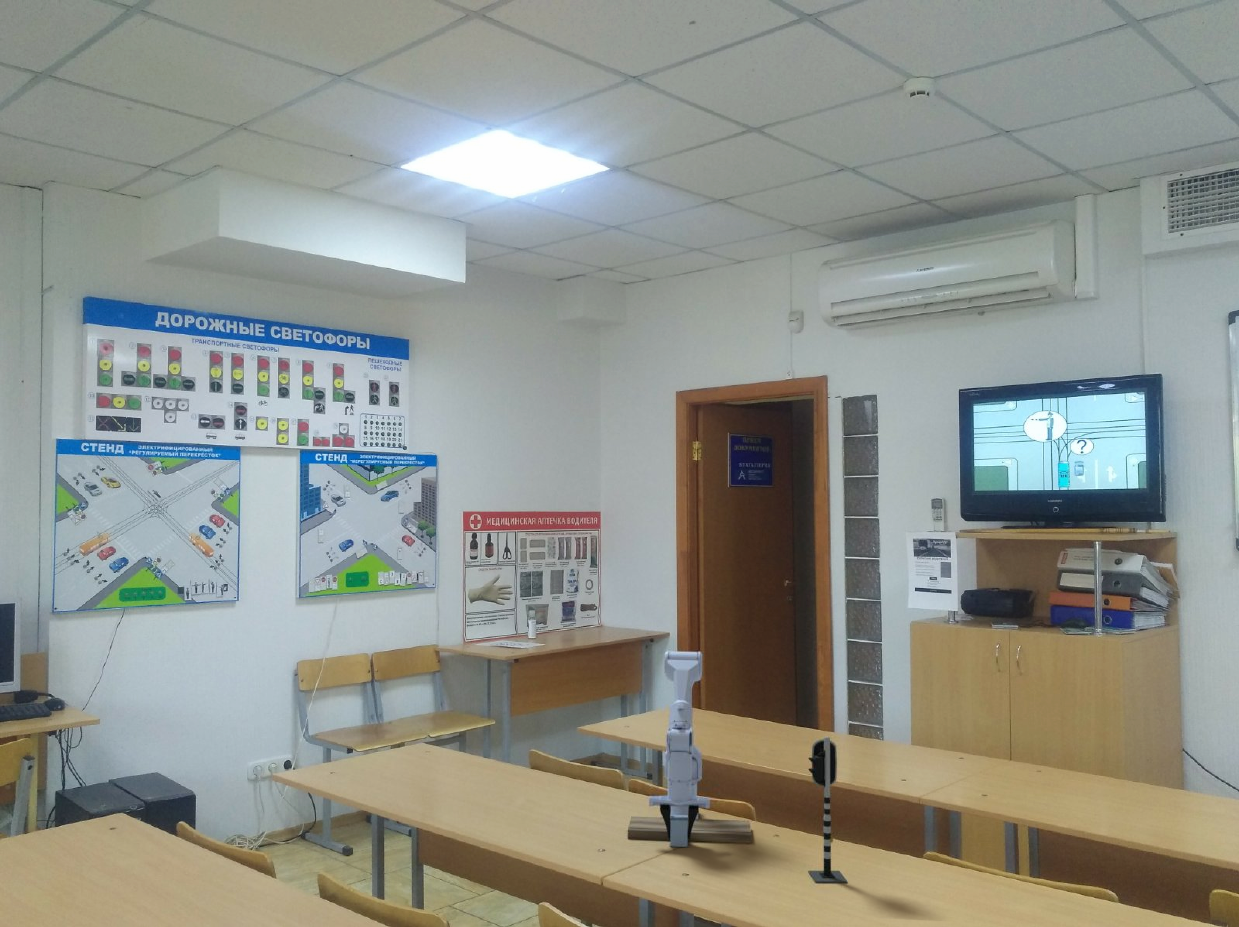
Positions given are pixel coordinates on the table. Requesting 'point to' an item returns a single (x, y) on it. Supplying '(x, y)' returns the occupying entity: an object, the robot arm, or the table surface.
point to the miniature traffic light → (825, 802)
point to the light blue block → (679, 830)
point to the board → (693, 830)
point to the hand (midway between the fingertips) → (679, 837)
